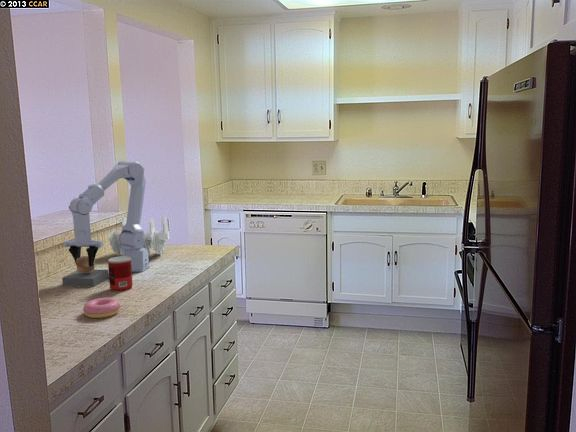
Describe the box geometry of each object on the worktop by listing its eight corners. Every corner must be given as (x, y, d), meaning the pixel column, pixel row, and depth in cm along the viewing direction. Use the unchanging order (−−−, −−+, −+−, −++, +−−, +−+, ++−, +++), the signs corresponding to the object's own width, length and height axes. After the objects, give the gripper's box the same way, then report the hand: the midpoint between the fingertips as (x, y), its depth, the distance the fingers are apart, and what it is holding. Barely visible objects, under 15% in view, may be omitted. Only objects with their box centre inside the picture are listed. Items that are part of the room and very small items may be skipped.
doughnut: (127, 313, 162) (126, 300, 161) (93, 322, 154) (92, 309, 153) (110, 305, 169) (109, 293, 168) (77, 314, 161) (76, 301, 160)
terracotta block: (94, 269, 197) (93, 256, 196) (88, 272, 192) (87, 259, 191) (83, 268, 197) (82, 256, 196) (77, 272, 193) (76, 259, 192)
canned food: (137, 286, 189) (135, 256, 187) (123, 292, 181) (121, 262, 180) (119, 284, 191) (117, 255, 189) (105, 290, 184) (103, 260, 182)
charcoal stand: (108, 277, 200) (108, 269, 200) (93, 286, 189) (93, 278, 188) (79, 276, 202) (78, 269, 201) (62, 285, 190) (62, 278, 189)
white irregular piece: (119, 261, 240) (172, 258, 241) (106, 253, 223) (164, 250, 224) (120, 223, 245) (172, 220, 246) (107, 213, 228) (164, 209, 229)
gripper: (58, 232, 189) (61, 268, 191) (95, 232, 187) (98, 268, 189) (68, 228, 196) (71, 263, 198) (104, 228, 194) (107, 263, 196)
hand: (85, 265), depth 194 cm, fingers closed on terracotta block, 4 cm apart
